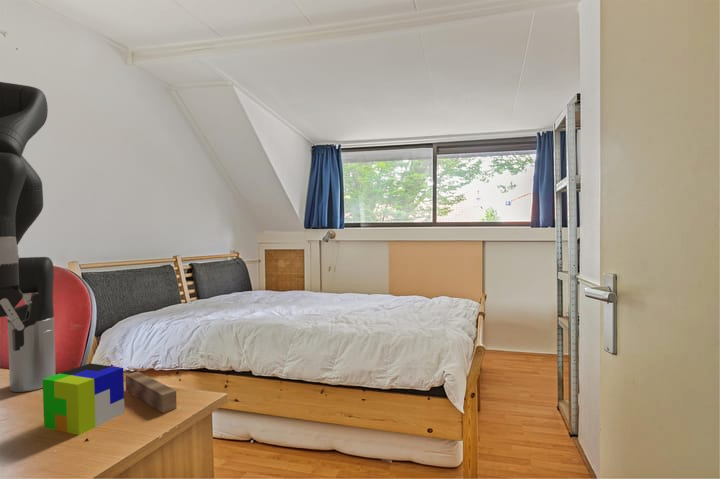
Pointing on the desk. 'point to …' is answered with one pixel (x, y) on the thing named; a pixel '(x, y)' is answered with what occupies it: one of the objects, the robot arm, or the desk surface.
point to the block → (151, 391)
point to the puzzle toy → (83, 398)
